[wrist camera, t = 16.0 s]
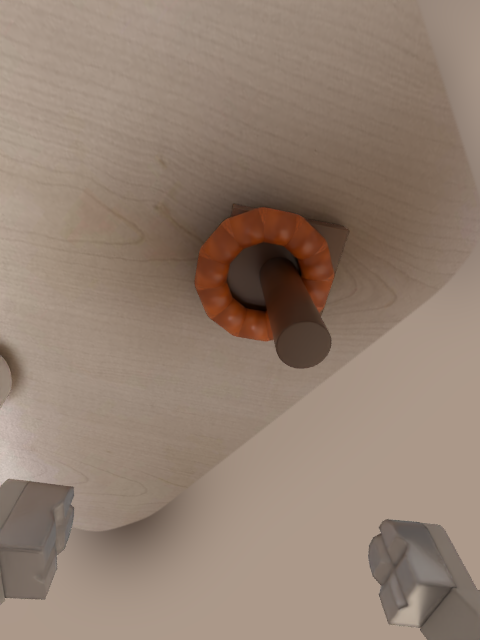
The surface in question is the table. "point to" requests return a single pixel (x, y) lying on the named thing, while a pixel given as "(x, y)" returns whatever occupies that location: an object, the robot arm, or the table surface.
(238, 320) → the orange beaded ring
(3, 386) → the teacup
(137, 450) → the table surface
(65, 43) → the table surface
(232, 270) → the stand
